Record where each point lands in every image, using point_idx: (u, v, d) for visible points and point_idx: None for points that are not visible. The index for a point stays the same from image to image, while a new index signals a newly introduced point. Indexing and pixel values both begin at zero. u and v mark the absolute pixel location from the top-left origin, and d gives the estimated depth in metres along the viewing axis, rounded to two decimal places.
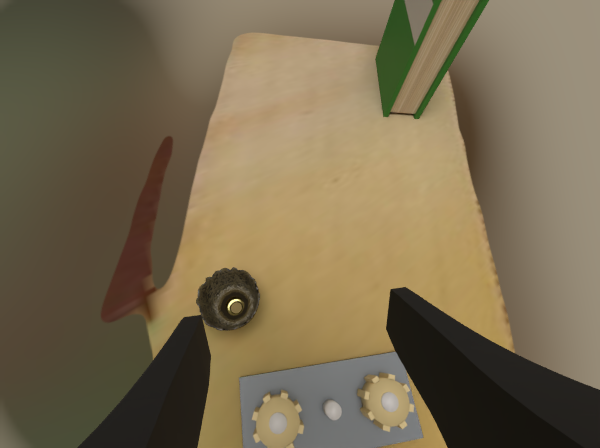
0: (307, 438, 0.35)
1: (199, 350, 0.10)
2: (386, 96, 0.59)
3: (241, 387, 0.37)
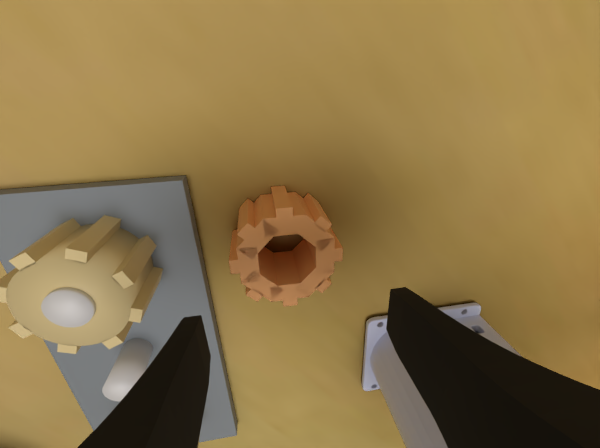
0: None
1: (199, 350, 0.10)
2: None
3: None
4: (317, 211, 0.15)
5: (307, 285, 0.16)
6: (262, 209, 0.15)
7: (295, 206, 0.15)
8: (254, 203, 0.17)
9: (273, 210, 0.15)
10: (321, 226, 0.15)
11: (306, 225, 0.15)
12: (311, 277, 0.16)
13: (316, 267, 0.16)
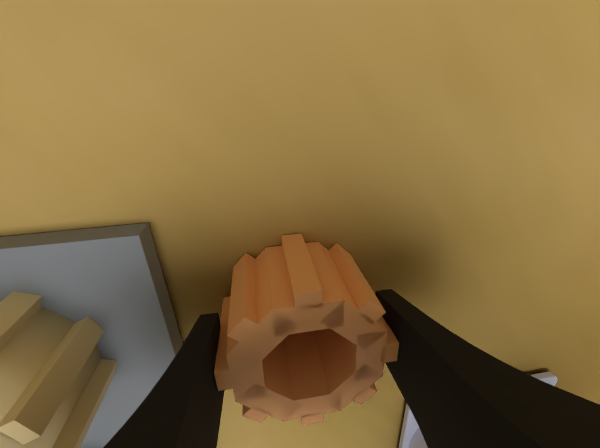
0: None
1: (217, 347, 0.10)
2: None
3: None
4: (359, 287, 0.09)
5: (339, 396, 0.10)
6: (269, 283, 0.09)
7: (322, 277, 0.09)
8: (256, 261, 0.11)
9: (287, 286, 0.09)
10: (368, 315, 0.09)
11: (343, 315, 0.09)
12: (346, 385, 0.10)
13: (355, 372, 0.10)
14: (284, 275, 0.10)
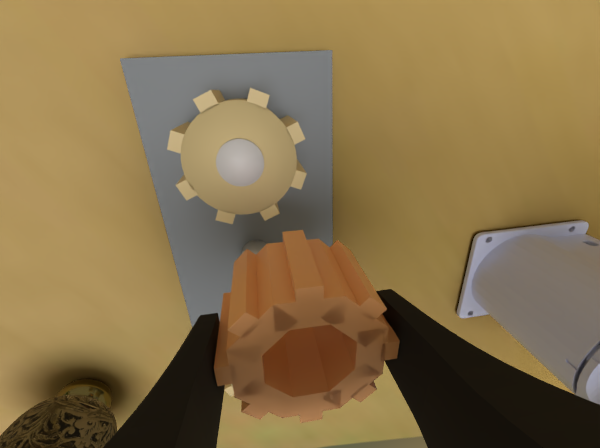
0: None
1: None
2: None
3: None
4: (361, 284, 0.09)
5: (338, 393, 0.10)
6: (270, 279, 0.09)
7: (324, 273, 0.09)
8: (257, 257, 0.11)
9: (289, 282, 0.09)
10: (369, 312, 0.09)
11: (344, 311, 0.09)
12: (346, 383, 0.10)
13: (355, 369, 0.10)
14: (285, 271, 0.10)
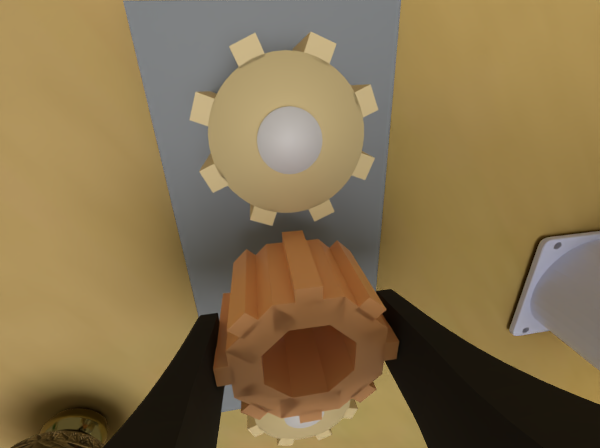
0: None
1: None
2: None
3: (238, 406, 0.19)
4: (360, 284, 0.09)
5: (338, 393, 0.10)
6: (270, 279, 0.09)
7: (323, 273, 0.09)
8: (256, 257, 0.11)
9: (288, 283, 0.09)
10: (368, 312, 0.09)
11: (343, 312, 0.09)
12: (346, 383, 0.10)
13: (355, 369, 0.10)
14: (285, 271, 0.10)
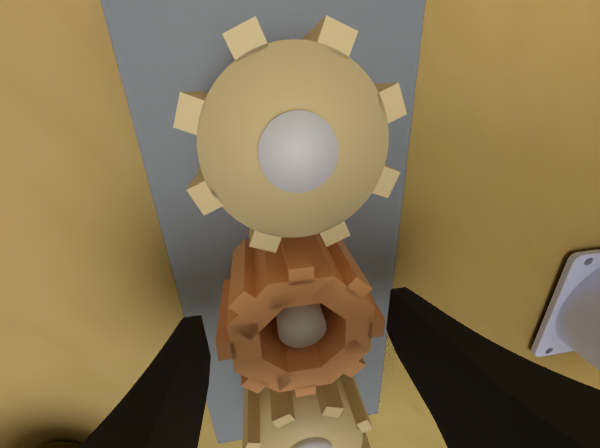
0: None
1: (199, 350, 0.10)
2: None
3: (237, 437, 0.18)
4: (349, 266, 0.10)
5: (330, 369, 0.11)
6: (266, 263, 0.10)
7: (315, 257, 0.10)
8: None
9: (283, 265, 0.10)
10: (356, 291, 0.10)
11: (333, 291, 0.10)
12: (337, 359, 0.11)
13: (345, 346, 0.11)
14: (280, 256, 0.10)
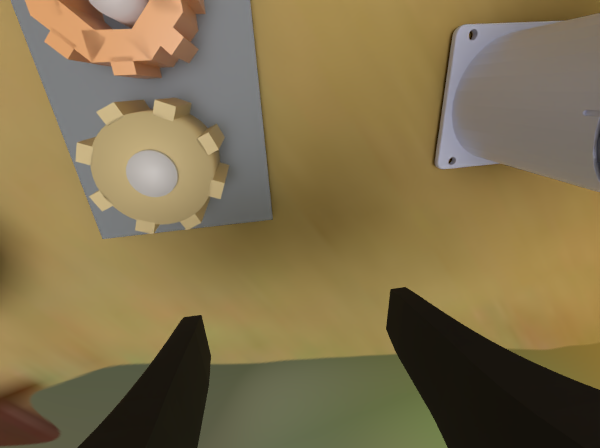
0: (213, 86, 0.15)
1: (199, 350, 0.10)
2: None
3: (122, 233, 0.17)
4: None
5: (143, 35, 0.11)
6: None
7: None
8: None
9: None
10: None
11: None
12: (147, 19, 0.10)
13: None
14: None
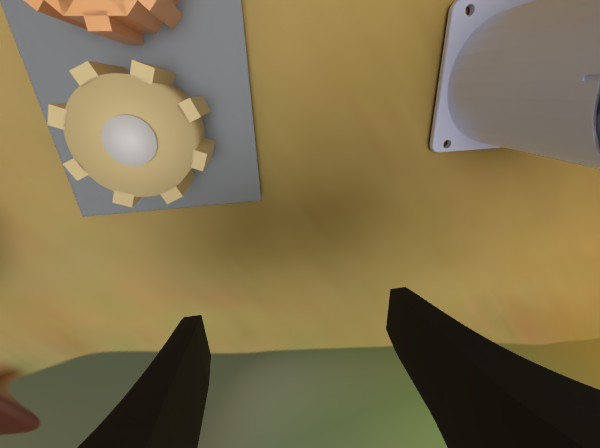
0: (198, 56, 0.14)
1: (199, 350, 0.10)
2: None
3: (103, 211, 0.17)
4: None
5: None
6: None
7: None
8: None
9: None
10: None
11: None
12: None
13: None
14: None
